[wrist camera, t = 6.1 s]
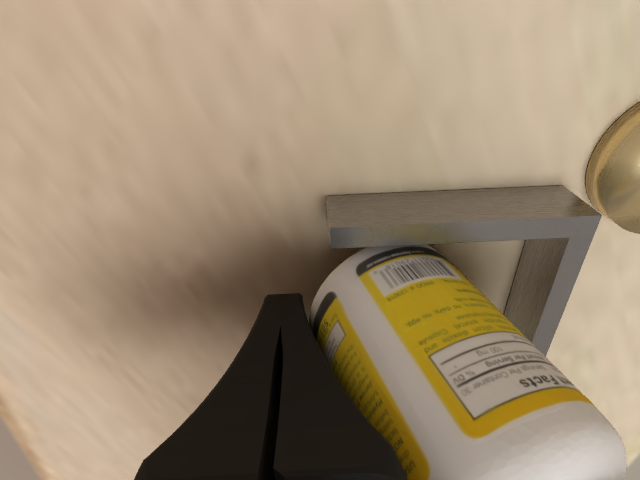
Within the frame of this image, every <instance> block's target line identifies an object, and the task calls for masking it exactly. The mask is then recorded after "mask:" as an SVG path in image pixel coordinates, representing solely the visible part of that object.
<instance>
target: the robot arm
mask: <svg viewBox="0 0 640 480" xmlns="http://www.w3.org/2000/svg"><path fill="white" fill-rule="evenodd" d="M134 480H407V477H406V474H405V472H404V469H403V467H402V465H401V463H400V461H399V459H398V457H397V455H396V453H395V451H394V449H393V447H392V445H391V444H390V443H389V442H388V441H387V440H386V439H385V438H384V437H383V436H382V435H381V434H380V433H379V431H378V430H377V429H376V428H375V427H374V426H373V425H372V424H371V423H370V421H369V420H368V419H367V418H366V417H365V416H364V414H363V413H362V412H361V411H360V409H359V408H358V407H357V406H356V404H355V403H354V402H353V400H352V399H351V398H350V396H349V395H348V394H347V392H346V391H345V390H344V388H343V387H342V385H341V384H340V382H339V381H338V379H337V378H336V376H335V374H334V373H333V371H332V370H331V368H330V366H329V364H328V363H327V361H326V359H325V357H324V355H323V353H322V351H321V349H320V347H319V345H318V343H317V341H316V339H315V337H314V334H313V332H312V330H311V327H310V325H309V322H308V319H307V316H306V313H305V309H304V305H303V297H302V295H301V294H299V293H297V294H275V295H267V296H266V297H265V299H264V302H263V305H262V308H261V310H260V312H259V315H258V317H257V319H256V321H255V323H254V325H253V327H252V329H251V331H250V333H249V335H248V337H247V339H246V341H245V342H244V344H243V346H242V347H241V349H240V351H239V352H238V354H237V356H236V357H235V359H234V361H233V362H232V364H231V365H230V367H229V368H228V370H227V371H226V372H225V374H224V375H223V377H222V378H221V379H220V381H219V382H218V383H217V385H216V386H215V387H214V389H213V390H212V391H211V392H210V393H209V395H208V396H207V397H206V398H205V400H204V401H203V402H202V403H201V404H200V406H199V407H198V408H197V409H196V410H195V411H194V412H193V413H192V414H191V415H190V416H189V417H188V418H187V419H186V421H185V422H184V423H183V424H182V425H181V426H180V427H179V428H178V429H177V430H176V431H175V432H174V433H173V434H172V435H171V436H170V437H169V438H168V439H167V440H165V441H164V442H163V443H162V444H161V445H160V446H159V447H158V448H157V449H156V450H154V451H153V452H152V453H151V454H150V455H149V456H148V457H147V458H146V459H144V460H143V462H142V464H141V466H140V468H139V470H138V472H137V474H136V476H135V479H134Z"/></svg>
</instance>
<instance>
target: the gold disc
mask: <svg viewBox="0 0 640 480" xmlns="http://www.w3.org/2000/svg"><path fill="white" fill-rule="evenodd" d="M586 190H587V194H588V197H589V199H590V201H591V203H592V204H593V205H594V206H595V207H596V209H598V210H599V211H600V212H602V213H603V214H604V215H605V216H607V217H608V218H609V219H611V220H612V221H613V222H615V223H616V224H617V225H619V226H620V227H622V228H623V229H625V230H627V231H630V232H634V233H639V234H640V103H638V104H637V105H635V106H634V107H632V108H631V109H629V110H628V111H627V112H626V113H625V114H623V115H622V116H621V117H620V118H619V119H618V120H617V121H616V122H615V123H614V124H613V125H612V126H611V127H610V128H609V129H608V130H607V132H606V133H605V134H604V135H603V137H602V138H601V140H600V141H599V143H598V144H597V146H596V148H595V150H594V151H593V153H592V156H591V158H590V161H589V164H588V167H587V172H586Z"/></svg>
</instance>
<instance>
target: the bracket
mask: <svg viewBox="0 0 640 480" xmlns="http://www.w3.org/2000/svg"><path fill="white" fill-rule="evenodd" d="M326 215H327V224H328V232H329V240H330V248H331V249H336V248H357V247H378V246H399V245H420V244H441V243H462V242H484V241H505V240H526V241H525V245H524V248H523V251H522V255H521V258H520V262H519V265H518V268H517V272H516V275H515V279H514V282H513V285H512V289H511V292H510V296H509V299H508V302H507V306H506V309H505V313H504V316H505V317H506V318H507V319H508V320H509V321H510V322H511V323H512V324H513V325H514V326H515V327H516V328H517V329H518V330H519V331H520V332H521V333H522V334H523V335H524V336H525V337H526V338H527V339H528V340H529V341H530V342H531V343H532V344H533V345H534V346H535V347H536V348H537V349H538V350H539V351H540V352H541V353H542V354H543V355H544V356H545V357H546V354H547V352H548V349H549V347H550V344H551V342H552V339H553V337H554V334H555V332H556V329H557V327H558V324H559V322H560V319H561V317H562V314H563V312H564V309H565V307H566V304H567V302H568V299H569V297H570V294H571V292H572V289H573V287H574V284H575V282H576V279H577V277H578V274H579V272H580V269H581V267H582V264H583V261H584V259H585V256H586V254H587V251H588V249H589V246H590V244H591V241H592V239H593V236H594V234H595V231H596V229H597V226H598V224H599V221H600V219H601V216H602V215H601V214H600V213H598V212H597V211H596V210H594V209H593V208H592V207H590V206H589V205H588V204H586V203H585V202H584V201H583V200H581V199H580V198H579V197H577V196H576V195H575V194H573V193H572V192H571V191H569V190H568V189H567V188H566V187H564V186H563V185H562V186H539V187H516V188H494V189H471V190H448V191H426V192H403V193H380V194H358V195H335V196H326Z"/></svg>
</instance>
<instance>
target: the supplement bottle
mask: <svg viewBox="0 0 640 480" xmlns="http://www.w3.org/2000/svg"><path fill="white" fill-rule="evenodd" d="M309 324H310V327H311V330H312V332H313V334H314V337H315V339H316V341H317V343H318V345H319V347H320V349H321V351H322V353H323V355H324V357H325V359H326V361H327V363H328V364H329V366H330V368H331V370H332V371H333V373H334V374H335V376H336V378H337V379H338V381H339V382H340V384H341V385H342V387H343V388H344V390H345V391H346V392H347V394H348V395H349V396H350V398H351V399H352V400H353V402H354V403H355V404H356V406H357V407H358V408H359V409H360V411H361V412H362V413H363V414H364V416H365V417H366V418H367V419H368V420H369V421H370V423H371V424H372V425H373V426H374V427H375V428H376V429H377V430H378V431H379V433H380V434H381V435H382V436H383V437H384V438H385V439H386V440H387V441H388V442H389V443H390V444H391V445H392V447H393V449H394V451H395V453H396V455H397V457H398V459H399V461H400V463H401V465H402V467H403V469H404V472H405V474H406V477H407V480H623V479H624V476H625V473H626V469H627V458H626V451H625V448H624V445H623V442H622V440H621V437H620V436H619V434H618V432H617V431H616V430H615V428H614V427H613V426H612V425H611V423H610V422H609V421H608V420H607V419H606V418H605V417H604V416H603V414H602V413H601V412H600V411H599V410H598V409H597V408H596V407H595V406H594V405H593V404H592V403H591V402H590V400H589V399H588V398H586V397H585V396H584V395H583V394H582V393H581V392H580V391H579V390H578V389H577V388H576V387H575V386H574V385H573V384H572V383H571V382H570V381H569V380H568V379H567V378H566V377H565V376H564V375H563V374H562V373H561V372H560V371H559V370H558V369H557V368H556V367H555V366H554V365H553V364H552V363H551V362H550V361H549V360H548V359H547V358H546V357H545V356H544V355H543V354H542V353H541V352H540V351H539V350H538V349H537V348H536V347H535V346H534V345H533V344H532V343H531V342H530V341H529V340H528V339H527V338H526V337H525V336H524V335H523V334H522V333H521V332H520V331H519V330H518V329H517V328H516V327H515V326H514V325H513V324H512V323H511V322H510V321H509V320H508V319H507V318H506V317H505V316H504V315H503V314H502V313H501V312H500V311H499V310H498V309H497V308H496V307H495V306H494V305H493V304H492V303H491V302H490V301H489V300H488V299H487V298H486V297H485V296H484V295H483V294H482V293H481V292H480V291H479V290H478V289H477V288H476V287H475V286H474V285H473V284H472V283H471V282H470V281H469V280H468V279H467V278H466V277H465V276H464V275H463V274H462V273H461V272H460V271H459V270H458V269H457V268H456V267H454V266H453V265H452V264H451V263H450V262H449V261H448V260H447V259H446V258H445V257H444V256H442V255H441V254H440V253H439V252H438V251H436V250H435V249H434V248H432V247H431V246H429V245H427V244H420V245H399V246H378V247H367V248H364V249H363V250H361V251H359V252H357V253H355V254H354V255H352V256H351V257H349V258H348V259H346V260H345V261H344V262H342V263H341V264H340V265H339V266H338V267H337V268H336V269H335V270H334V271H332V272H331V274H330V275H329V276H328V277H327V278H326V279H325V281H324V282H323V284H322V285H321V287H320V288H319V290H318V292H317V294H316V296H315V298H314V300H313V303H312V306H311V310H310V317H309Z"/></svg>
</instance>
